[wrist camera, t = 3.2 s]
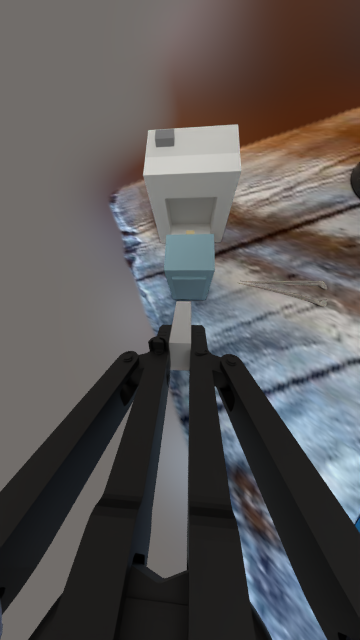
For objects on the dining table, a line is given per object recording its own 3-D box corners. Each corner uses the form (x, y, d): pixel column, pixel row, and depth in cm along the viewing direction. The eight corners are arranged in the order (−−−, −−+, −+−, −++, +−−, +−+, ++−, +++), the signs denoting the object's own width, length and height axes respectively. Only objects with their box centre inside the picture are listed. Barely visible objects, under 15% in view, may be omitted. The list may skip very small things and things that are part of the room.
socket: (220, 209, 32) (239, 115, 19) (220, 242, 30) (243, 162, 17) (163, 210, 32) (146, 121, 20) (160, 243, 31) (141, 167, 18)
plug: (205, 261, 29) (213, 215, 20) (205, 301, 27) (214, 273, 18) (174, 261, 30) (167, 216, 20) (172, 301, 28) (163, 273, 18)
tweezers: (323, 284, 27) (332, 279, 26) (322, 309, 27) (332, 305, 25) (224, 273, 30) (226, 267, 28) (221, 295, 29) (222, 291, 28)
